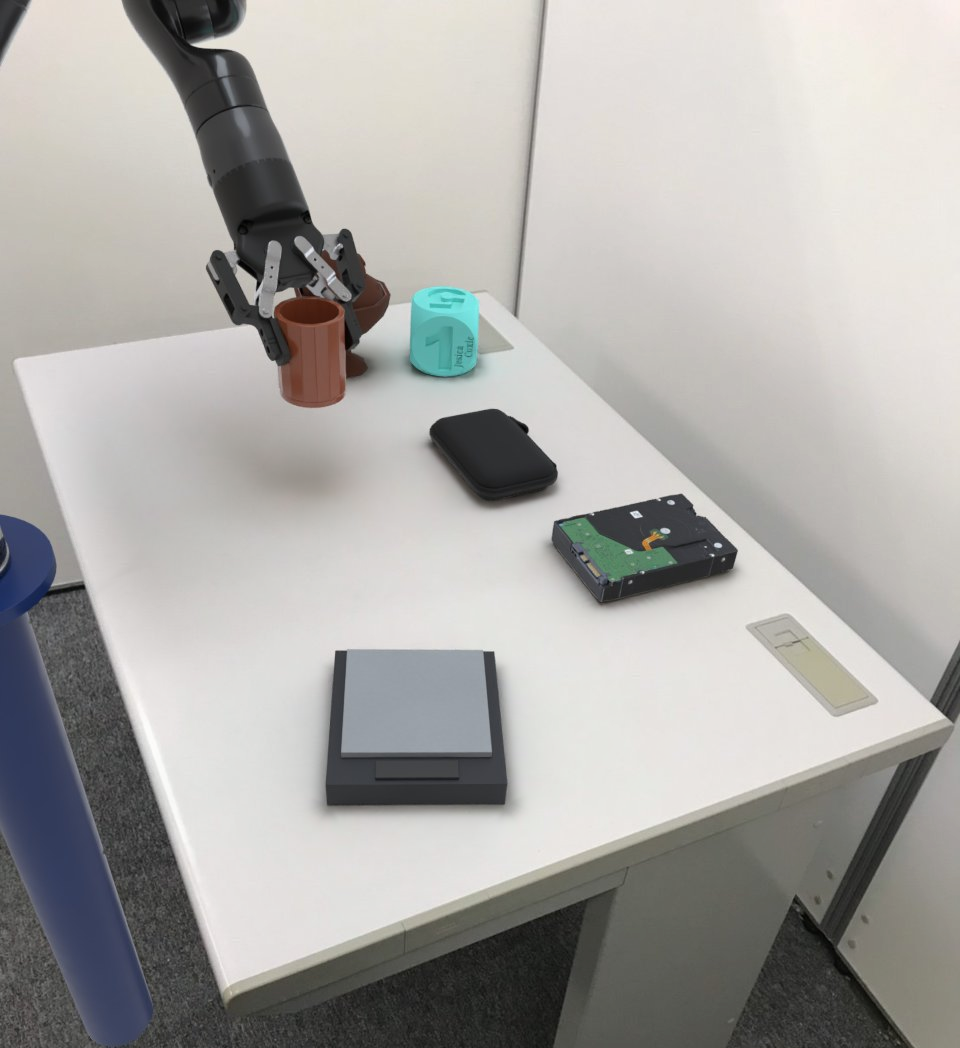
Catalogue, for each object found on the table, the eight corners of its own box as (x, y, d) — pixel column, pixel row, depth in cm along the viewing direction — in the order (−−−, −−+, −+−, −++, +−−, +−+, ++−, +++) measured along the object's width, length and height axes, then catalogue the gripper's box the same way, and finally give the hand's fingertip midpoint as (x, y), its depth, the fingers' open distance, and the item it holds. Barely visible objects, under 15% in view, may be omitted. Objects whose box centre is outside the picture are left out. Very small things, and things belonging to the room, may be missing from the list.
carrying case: (572, 490, 105) (508, 422, 114) (576, 465, 103) (510, 398, 112) (481, 511, 101) (422, 439, 111) (483, 485, 99) (423, 414, 109)
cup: (277, 407, 92) (271, 324, 87) (282, 375, 97) (277, 294, 91) (344, 409, 93) (343, 327, 87) (347, 377, 97) (345, 297, 92)
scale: (326, 805, 73) (325, 779, 71) (336, 671, 83) (334, 644, 81) (504, 804, 74) (508, 778, 72) (492, 671, 84) (495, 645, 82)
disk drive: (675, 514, 103) (548, 542, 98) (680, 491, 101) (551, 518, 96) (734, 573, 96) (601, 607, 91) (741, 549, 94) (605, 582, 89)
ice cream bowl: (406, 374, 121) (408, 251, 111) (324, 396, 116) (318, 269, 106) (363, 339, 127) (360, 219, 117) (283, 358, 122) (273, 234, 112)
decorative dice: (409, 375, 121) (410, 312, 116) (411, 345, 127) (412, 283, 122) (475, 378, 121) (479, 316, 116) (474, 348, 127) (478, 287, 122)
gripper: (183, 165, 83) (257, 356, 84) (337, 145, 90) (403, 323, 91) (167, 209, 90) (236, 386, 91) (311, 188, 96) (374, 353, 97)
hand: (319, 354), depth 91 cm, fingers closed on cup, 6 cm apart
